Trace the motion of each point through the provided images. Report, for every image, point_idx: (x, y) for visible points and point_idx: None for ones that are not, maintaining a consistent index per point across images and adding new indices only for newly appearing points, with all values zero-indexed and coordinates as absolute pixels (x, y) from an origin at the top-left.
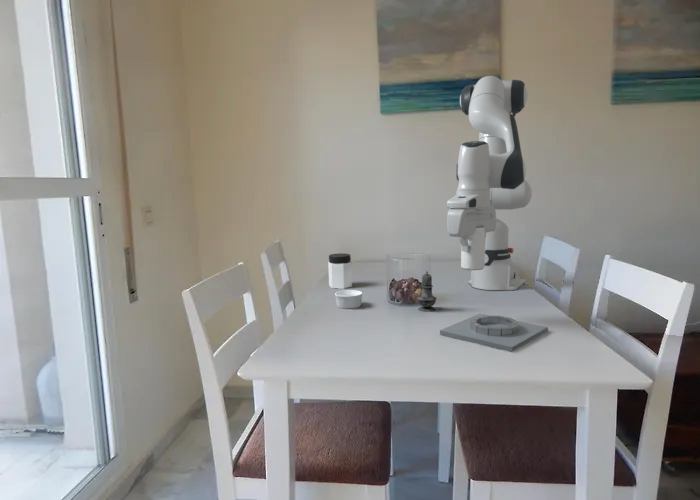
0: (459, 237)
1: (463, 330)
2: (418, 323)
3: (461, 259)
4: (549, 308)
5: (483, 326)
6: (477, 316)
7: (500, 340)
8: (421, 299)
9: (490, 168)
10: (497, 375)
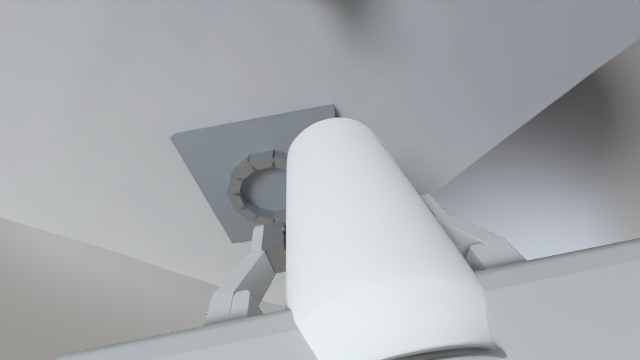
0: (208, 312)
1: (216, 165)
2: (165, 29)
3: (293, 159)
4: (482, 149)
5: (237, 201)
6: (274, 157)
7: (238, 223)
8: None
9: None
10: (165, 265)
